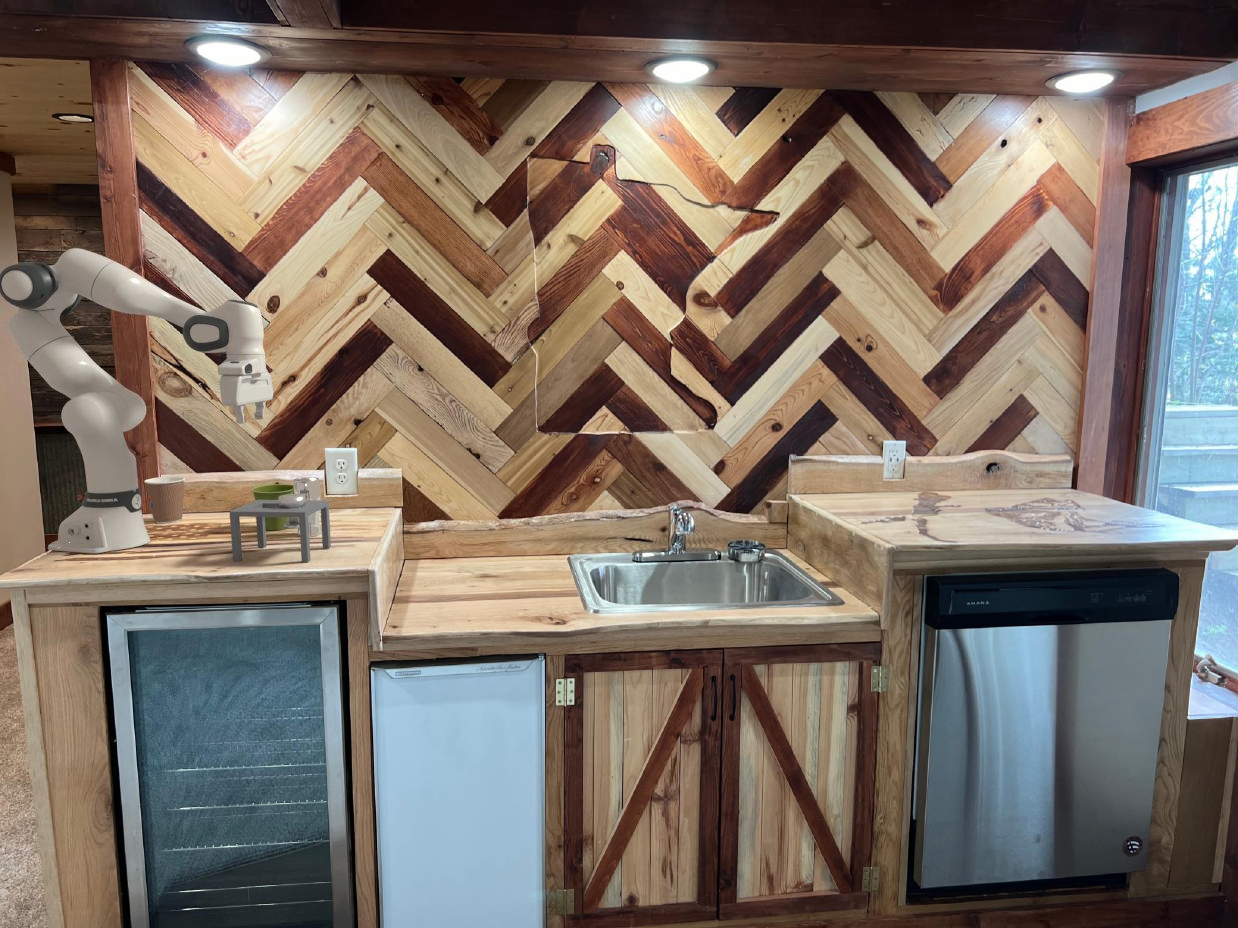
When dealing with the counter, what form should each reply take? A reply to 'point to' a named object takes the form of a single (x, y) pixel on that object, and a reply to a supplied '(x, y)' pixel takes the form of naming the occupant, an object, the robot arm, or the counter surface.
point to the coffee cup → (166, 498)
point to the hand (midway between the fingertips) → (250, 421)
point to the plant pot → (273, 494)
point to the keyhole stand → (272, 509)
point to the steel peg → (292, 502)
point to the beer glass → (311, 492)
